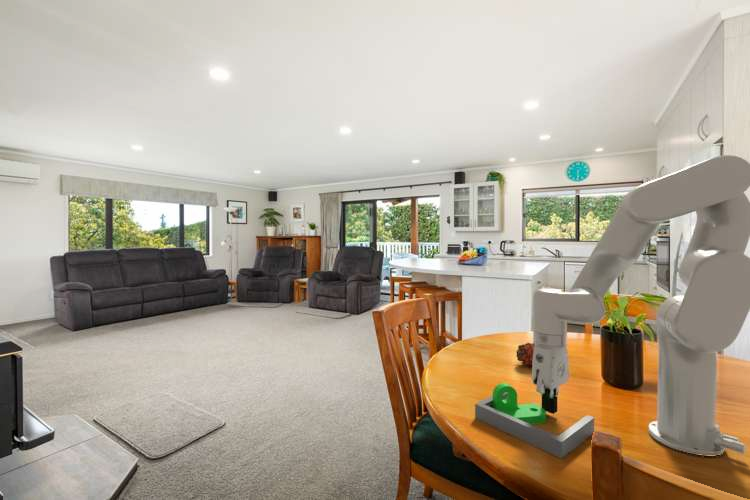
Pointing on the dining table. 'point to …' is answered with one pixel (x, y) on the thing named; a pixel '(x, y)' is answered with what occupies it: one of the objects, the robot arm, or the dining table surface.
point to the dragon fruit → (525, 353)
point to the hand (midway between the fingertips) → (549, 410)
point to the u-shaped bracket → (535, 429)
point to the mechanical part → (510, 407)
